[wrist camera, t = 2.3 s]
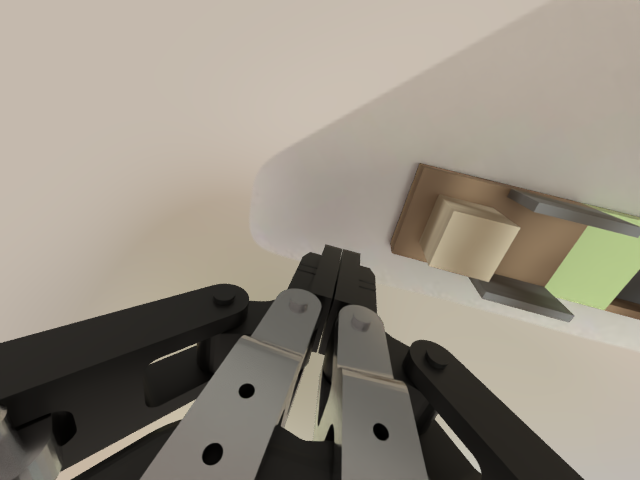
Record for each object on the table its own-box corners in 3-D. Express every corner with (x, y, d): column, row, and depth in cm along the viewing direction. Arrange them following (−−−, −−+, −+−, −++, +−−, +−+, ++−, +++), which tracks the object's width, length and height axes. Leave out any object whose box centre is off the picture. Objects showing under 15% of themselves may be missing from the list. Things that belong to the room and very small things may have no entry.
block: (419, 241, 22) (428, 265, 18) (438, 194, 20) (454, 210, 16) (468, 254, 21) (488, 282, 18) (493, 208, 20) (520, 227, 16)
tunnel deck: (390, 243, 24) (395, 274, 19) (419, 163, 21) (435, 176, 16) (648, 312, 23) (725, 365, 18) (720, 237, 20) (837, 276, 15)
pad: (527, 279, 24) (540, 293, 22) (578, 202, 20) (598, 210, 19) (586, 295, 23) (604, 310, 21) (647, 219, 20) (674, 229, 18)
